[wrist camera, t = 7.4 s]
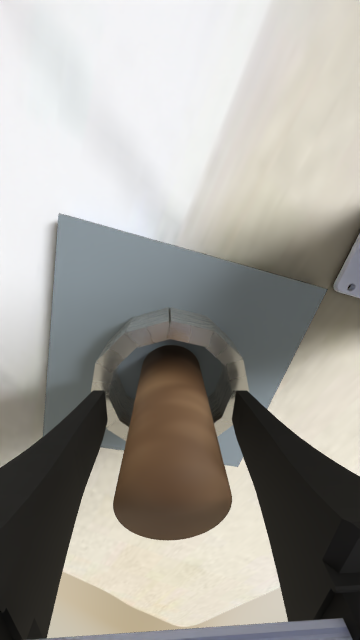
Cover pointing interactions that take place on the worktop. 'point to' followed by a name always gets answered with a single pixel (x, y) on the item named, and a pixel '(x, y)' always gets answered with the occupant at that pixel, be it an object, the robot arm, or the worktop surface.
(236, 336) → the ring collar board
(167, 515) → the walnut pin
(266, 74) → the worktop surface
